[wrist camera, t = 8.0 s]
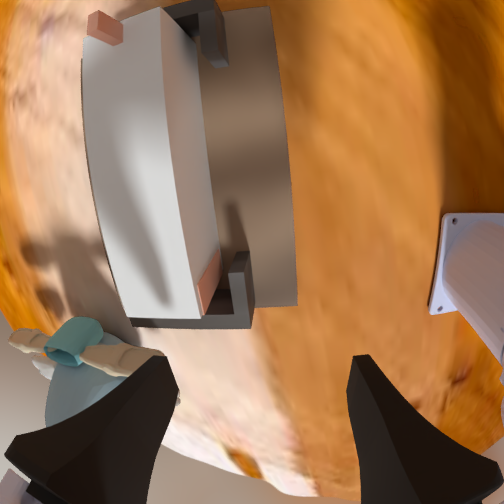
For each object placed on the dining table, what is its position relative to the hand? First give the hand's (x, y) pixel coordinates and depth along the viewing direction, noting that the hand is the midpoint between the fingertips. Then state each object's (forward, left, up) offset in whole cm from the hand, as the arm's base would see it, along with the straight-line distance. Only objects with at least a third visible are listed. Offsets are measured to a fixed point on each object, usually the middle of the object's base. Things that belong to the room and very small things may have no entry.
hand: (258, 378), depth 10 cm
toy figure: (+15, +7, -10) cm, 19 cm away
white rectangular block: (+5, -8, -8) cm, 12 cm away
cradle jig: (+5, -8, -9) cm, 13 cm away
